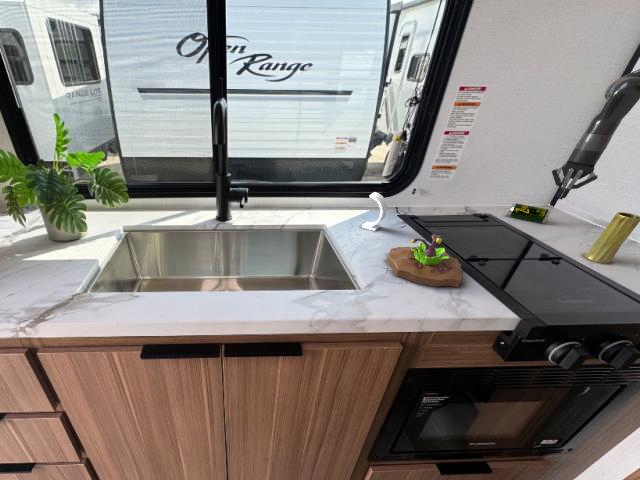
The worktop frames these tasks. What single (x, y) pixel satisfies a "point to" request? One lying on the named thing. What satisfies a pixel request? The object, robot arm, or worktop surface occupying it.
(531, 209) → the beer can
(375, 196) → the headphone stand
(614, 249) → the vase
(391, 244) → the worktop surface
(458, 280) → the plant
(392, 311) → the worktop surface
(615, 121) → the robot arm
